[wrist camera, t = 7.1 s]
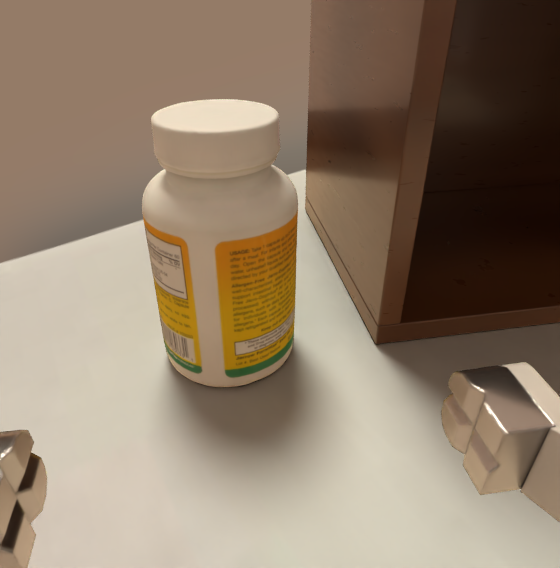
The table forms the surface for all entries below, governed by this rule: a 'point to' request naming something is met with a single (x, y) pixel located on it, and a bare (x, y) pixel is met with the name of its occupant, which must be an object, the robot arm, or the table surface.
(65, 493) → the table surface
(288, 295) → the supplement bottle
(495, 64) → the cabinet
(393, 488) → the table surface
